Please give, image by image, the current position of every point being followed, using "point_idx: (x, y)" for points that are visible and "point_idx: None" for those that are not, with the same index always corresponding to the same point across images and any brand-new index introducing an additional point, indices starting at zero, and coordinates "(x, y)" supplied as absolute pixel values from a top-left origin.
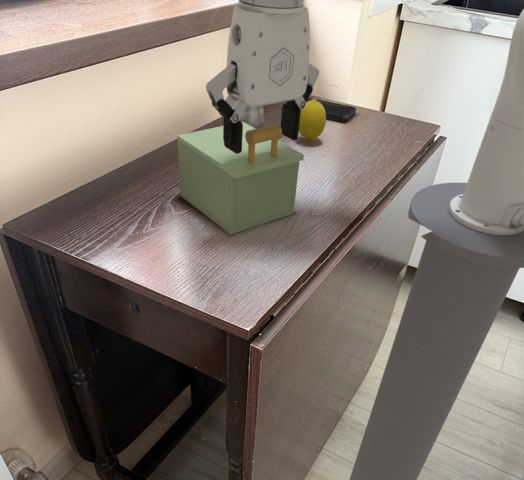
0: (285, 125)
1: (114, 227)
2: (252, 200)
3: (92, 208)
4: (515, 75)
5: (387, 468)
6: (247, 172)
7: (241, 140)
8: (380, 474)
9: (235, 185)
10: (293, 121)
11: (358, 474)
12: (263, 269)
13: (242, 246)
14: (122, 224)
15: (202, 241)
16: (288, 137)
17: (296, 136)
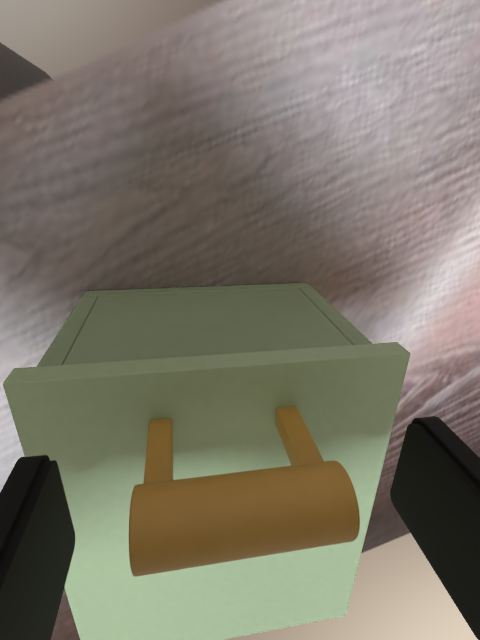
0: (53, 569)
1: (459, 411)
2: (262, 316)
3: None
4: None
5: (21, 65)
6: (350, 351)
7: (463, 460)
8: (31, 74)
9: (358, 344)
10: (15, 574)
11: None
12: (354, 87)
13: (320, 221)
14: (442, 415)
15: (376, 291)
16: (62, 488)
17: (26, 468)
